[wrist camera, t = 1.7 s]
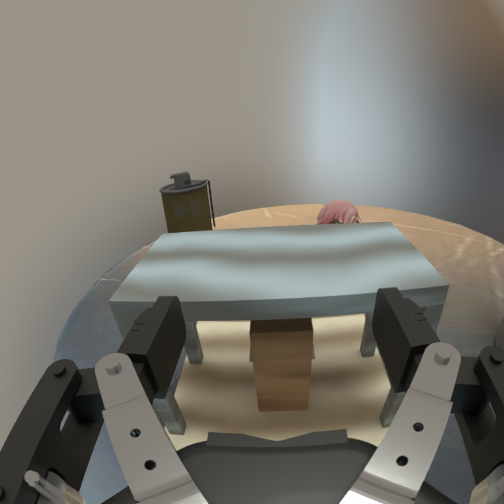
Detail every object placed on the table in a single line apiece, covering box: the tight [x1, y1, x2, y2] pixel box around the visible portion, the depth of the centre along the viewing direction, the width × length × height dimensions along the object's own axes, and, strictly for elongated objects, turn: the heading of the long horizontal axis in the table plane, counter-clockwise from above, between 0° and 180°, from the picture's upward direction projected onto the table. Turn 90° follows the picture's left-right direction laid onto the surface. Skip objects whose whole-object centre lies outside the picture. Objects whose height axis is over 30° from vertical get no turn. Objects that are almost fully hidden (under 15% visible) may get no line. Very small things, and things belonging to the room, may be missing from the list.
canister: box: [160, 172, 215, 233], centre depth 65 cm, size 11×10×20 cm
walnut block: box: [249, 318, 313, 412], centre depth 27 cm, size 5×5×11 cm
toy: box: [317, 200, 362, 225], centre depth 67 cm, size 12×11×15 cm
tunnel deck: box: [109, 222, 449, 451], centre depth 28 cm, size 28×24×20 cm
